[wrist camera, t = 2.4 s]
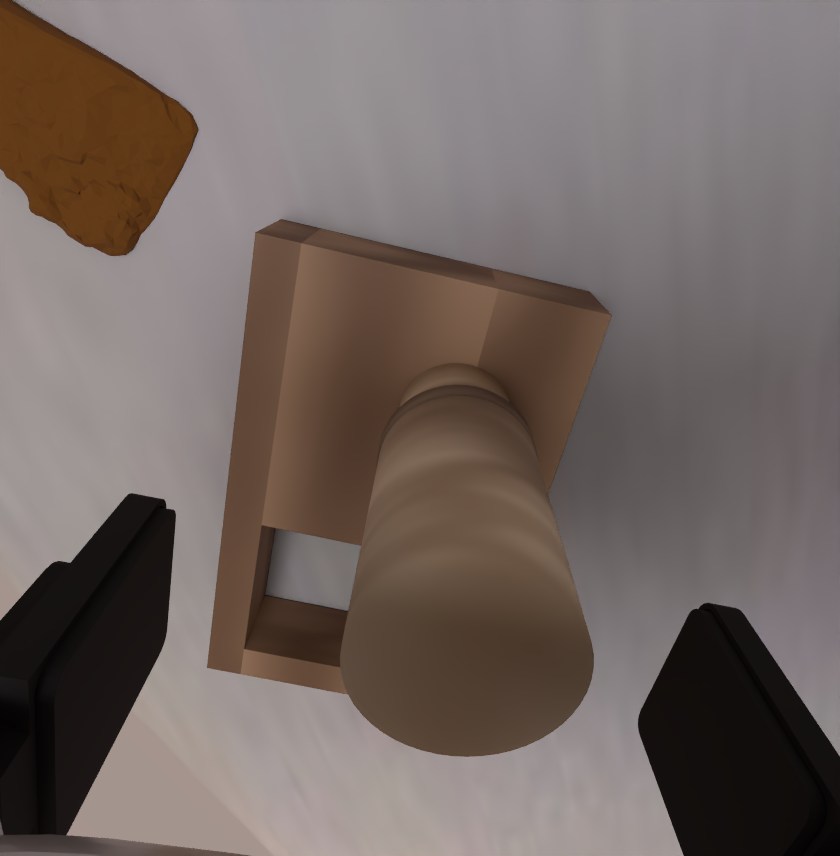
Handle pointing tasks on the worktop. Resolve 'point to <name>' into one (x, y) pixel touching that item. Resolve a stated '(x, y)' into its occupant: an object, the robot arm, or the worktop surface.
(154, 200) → the primitive tool
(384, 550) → the peg
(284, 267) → the board
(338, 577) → the worktop surface
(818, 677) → the worktop surface
